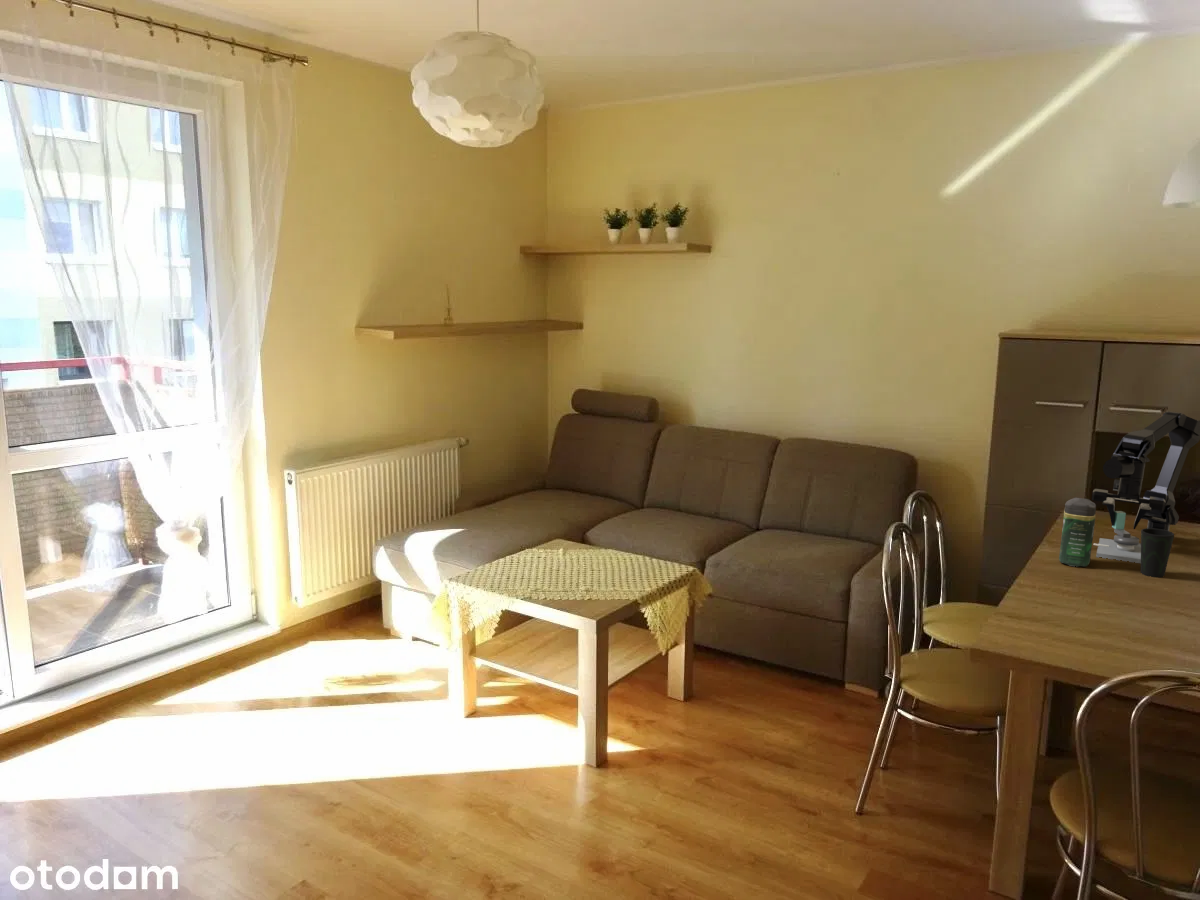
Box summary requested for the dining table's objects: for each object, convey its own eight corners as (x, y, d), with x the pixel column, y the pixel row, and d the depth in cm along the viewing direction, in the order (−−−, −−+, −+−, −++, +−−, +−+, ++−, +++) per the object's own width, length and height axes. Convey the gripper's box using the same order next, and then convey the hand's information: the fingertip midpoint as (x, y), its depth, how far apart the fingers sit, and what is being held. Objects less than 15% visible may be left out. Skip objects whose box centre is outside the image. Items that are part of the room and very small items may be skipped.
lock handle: (1126, 535, 266) (1129, 511, 265) (1142, 545, 256) (1145, 520, 254) (1104, 534, 267) (1106, 510, 265) (1119, 545, 257) (1122, 519, 255)
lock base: (1094, 541, 272) (1095, 531, 271) (1152, 548, 264) (1153, 539, 263) (1091, 556, 257) (1092, 546, 256) (1152, 565, 249) (1153, 555, 248)
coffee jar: (1089, 569, 245) (1096, 505, 242) (1057, 564, 249) (1064, 501, 246) (1090, 560, 253) (1097, 497, 250) (1060, 555, 257) (1066, 494, 254)
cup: (1167, 580, 236) (1172, 537, 234) (1134, 574, 241) (1139, 532, 238) (1170, 573, 242) (1175, 531, 240) (1138, 567, 247) (1143, 526, 244)
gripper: (1168, 477, 263) (1159, 527, 266) (1097, 467, 272) (1089, 516, 275) (1169, 483, 253) (1160, 535, 256) (1095, 473, 263) (1087, 523, 266)
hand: (1123, 527), depth 263 cm, fingers open, 5 cm apart
